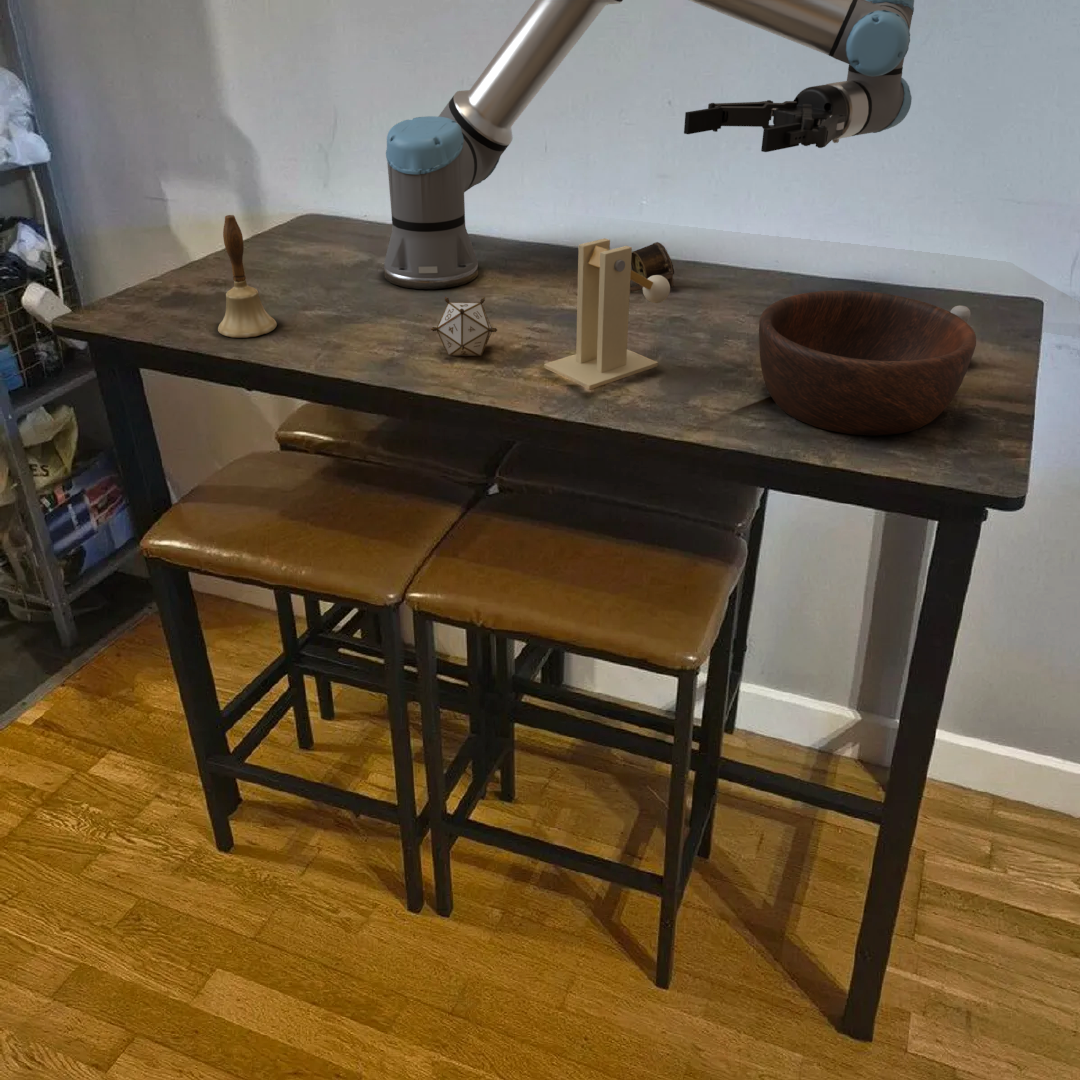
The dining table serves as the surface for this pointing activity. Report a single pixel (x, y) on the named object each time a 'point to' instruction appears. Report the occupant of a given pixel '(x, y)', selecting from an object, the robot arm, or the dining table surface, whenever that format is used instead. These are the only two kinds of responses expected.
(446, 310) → the game die
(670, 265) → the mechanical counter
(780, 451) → the dining table surface
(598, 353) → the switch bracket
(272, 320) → the hand bell
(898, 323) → the wooden bowl
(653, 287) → the lever
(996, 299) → the dining table surface
